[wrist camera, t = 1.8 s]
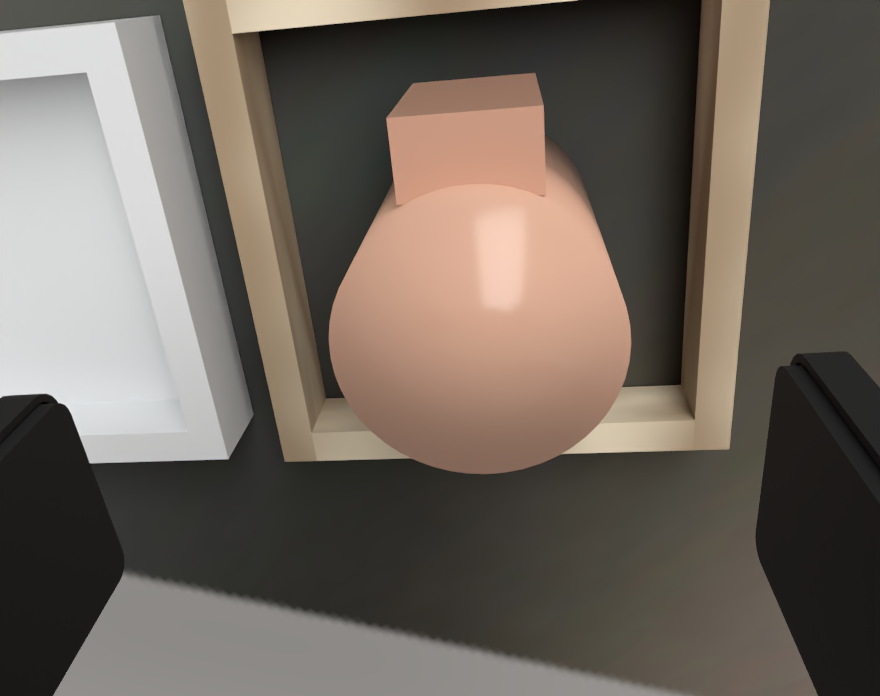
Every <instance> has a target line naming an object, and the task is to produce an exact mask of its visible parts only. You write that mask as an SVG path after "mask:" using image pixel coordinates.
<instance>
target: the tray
mask: <svg viewBox="0 0 880 696" xmlns="http://www.w3.org/2000/svg"><path fill="white" fill-rule="evenodd" d="M28 394H49V395H51V396H53V397H54V398H55V399H56V400H57V402H58V403H61V404H64V405H65V406H66V407H67V408H68V409H69V411H70V413H71V415H72V417H73V420H74V423H75V425H76V428H77V431H78V433H79V436H80V439H81V441H82V444H83V447H84V449H85V452H86V455H87V457H88V460H89V463H118V462H152V461H185V460H219V459H229V457H230V456H231V454H232V452H233V450H234V449H235V447H236V445H237V443H238V441H239V440H240V438H241V436H242V434H243V433H244V431H245V429H246V427H247V426H248V424H249V422H250V420H251V419H252V417H253V415H254V414H253V410H252V405H251V401H250V397H249V393H248V388H247V384H246V380H245V376H244V371H243V367H242V363H241V359H240V354H239V350H238V346H237V342H236V337H235V333H234V329H233V325H232V320H231V316H230V312H229V308H228V303H227V299H226V295H225V291H224V286H223V282H222V278H221V274H220V269H219V265H218V261H217V257H216V252H215V248H214V244H213V240H212V235H211V231H210V227H209V223H208V218H207V214H206V210H205V206H204V201H203V197H202V193H201V189H200V184H199V180H198V176H197V172H196V167H195V163H194V159H193V155H192V150H191V146H190V142H189V138H188V133H187V129H186V125H185V121H184V116H183V112H182V108H181V104H180V99H179V95H178V91H177V87H176V82H175V78H174V74H173V70H172V65H171V61H170V57H169V53H168V48H167V44H166V40H165V36H164V31H163V27H162V23H161V19H160V15H157V16H147V17H137V18H127V19H117V20H107V21H97V22H87V23H77V24H67V25H57V26H47V27H38V28H28V29H18V30H8V31H0V398H1V397H3V396H9V395H28Z"/></svg>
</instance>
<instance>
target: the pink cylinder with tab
mask: <svg viewBox="0 0 880 696" xmlns="http://www.w3.org/2000/svg"><path fill="white" fill-rule="evenodd" d="M386 120H387V128H388V136H389V145H390V153H391V162H392V170H393V179H394V181H393V183H392V185H391V187H390V189H389V191H388V193H387V195H386V197H385V199H384V201H383V203H382V205H381V207H380V209H379V211H378V213H377V215H376V217H375V219H374V220H373V222H372V224H371V226H370V228H369V230H368V232H367V234H366V236H365V238H364V240H363V242H362V244H361V246H360V248H359V250H358V252H357V254H356V256H355V258H354V260H353V261H352V263H351V265H350V267H349V269H348V271H347V273H346V275H345V277H344V279H343V281H342V283H341V285H340V287H339V289H338V292H337V295H336V298H335V300H334V303H333V307H332V312H331V317H330V323H329V348H330V358H331V362H332V366H333V370H334V374H335V377H336V379H337V382H338V384H339V387H340V389H341V391H342V393H343V395H344V397H345V398H346V400H347V402H348V404H349V406H350V407H351V408H352V410H353V411H354V412H355V414H356V415H357V416H358V418H359V419H360V420H361V421H362V422H363V423H364V424H365V425H366V426H367V427H368V428H369V430H370V431H371V432H372V433H374V434H375V435H376V436H377V437H379V438H380V439H381V440H382V441H383V442H385V443H386V444H387V445H389V446H391V447H392V448H394V449H395V450H397V451H398V452H400V453H402V454H404V455H406V456H408V457H410V458H412V459H414V460H416V461H419V462H421V463H424V464H427V465H430V466H432V467H436V468H440V469H444V470H448V471H453V472H461V473H468V474H494V473H506V472H511V471H516V470H521V469H525V468H528V467H531V466H535V465H538V464H541V463H543V462H545V461H548V460H550V459H552V458H554V457H557V456H558V455H560V454H562V453H563V452H565V451H567V450H569V449H570V448H572V447H573V446H575V445H576V444H577V443H579V442H580V441H581V440H582V439H584V438H585V437H586V436H587V435H588V434H589V433H590V432H591V431H592V430H593V429H594V428H595V427H596V426H597V425H598V424H599V423H600V422H601V421H602V419H603V418H604V417H605V416H606V414H607V413H608V412H609V410H610V409H611V407H612V405H613V404H614V402H615V400H616V398H617V397H618V395H619V393H620V390H621V388H622V385H623V383H624V380H625V377H626V373H627V369H628V365H629V361H630V351H631V331H630V322H629V317H628V312H627V308H626V305H625V302H624V299H623V296H622V293H621V290H620V287H619V285H618V282H617V279H616V276H615V273H614V270H613V267H612V264H611V261H610V259H609V256H608V253H607V250H606V247H605V244H604V241H603V238H602V236H601V233H600V230H599V227H598V224H597V221H596V218H595V215H594V212H593V210H592V207H591V204H590V201H589V198H588V195H587V192H586V189H585V187H584V184H583V181H582V178H581V176H580V174H579V172H578V170H577V168H576V166H575V165H574V163H573V162H572V160H571V159H570V158H569V156H568V155H567V154H566V153H565V151H564V150H563V149H562V148H561V147H560V146H559V145H558V144H557V143H555V142H554V141H553V140H552V139H550V138H549V137H548V136H547V135H545V134H544V105H543V101H542V97H541V93H540V89H539V86H538V82H537V78H536V74H535V73H527V74H516V75H504V76H492V77H480V78H469V79H457V80H445V81H433V82H422V83H413V84H412V85H411V86H410V88H409V89H408V90H407V92H406V93H405V94H404V96H403V97H402V98H401V100H400V101H399V102H398V103H397V105H396V106H395V107H394V109H393V110H392V111H391V113H390V114H389V115H388V117H387V118H386Z"/></svg>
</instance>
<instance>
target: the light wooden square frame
mask: <svg viewBox="0 0 880 696" xmlns="http://www.w3.org/2000/svg"><path fill="white" fill-rule="evenodd" d="M566 1H576V0H183V3H184V8H185V12H186V17H187V21H188V26H189V30H190V35H191V39H192V44H193V49H194V53H195V58H196V62H197V67H198V71H199V76H200V80H201V85H202V89H203V94H204V98H205V103H206V107H207V112H208V116H209V121H210V125H211V130H212V134H213V139H214V143H215V148H216V153H217V157H218V162H219V166H220V171H221V175H222V180H223V184H224V189H225V193H226V198H227V202H228V207H229V211H230V216H231V220H232V225H233V229H234V234H235V238H236V243H237V247H238V252H239V257H240V261H241V266H242V270H243V275H244V279H245V284H246V288H247V293H248V297H249V302H250V306H251V311H252V315H253V320H254V324H255V329H256V333H257V338H258V342H259V347H260V351H261V356H262V361H263V365H264V370H265V374H266V379H267V383H268V388H269V392H270V397H271V401H272V406H273V410H274V415H275V419H276V424H277V428H278V433H279V437H280V442H281V446H282V451H283V455H284V460H285V462H299V461H333V460H368V459H403V458H410V457H408V456H406V455H404V454H402V453H400V452H398V451H397V450H395V449H394V448H392V447H391V446H389V445H387V444H386V443H385V442H383V441H382V440H381V439H380V438H379V437H377V436H376V435H375V434H374V433H372V432H371V431H370V430H369V428H368V427H367V426H366V425H365V424H364V423H363V422H362V421H361V420H360V419H359V418H358V416H357V415H356V414H355V412H354V411H353V410H352V408H351V407H350V406H349V404H348V402H347V400H346V398H329V399H326V395H325V390H324V385H323V379H322V374H321V368H320V363H319V357H318V352H317V346H316V341H315V336H314V330H313V325H312V319H311V314H310V308H309V303H308V298H307V292H306V287H305V281H304V276H303V270H302V265H301V260H300V254H299V249H298V243H297V238H296V232H295V227H294V221H293V216H292V211H291V205H290V200H289V194H288V189H287V183H286V178H285V173H284V167H283V162H282V156H281V151H280V145H279V140H278V135H277V129H276V124H275V118H274V113H273V107H272V102H271V96H270V91H269V86H268V80H267V75H266V69H265V64H264V58H263V53H262V48H261V42H260V37H259V31H266V30H276V29H287V28H297V27H307V26H318V25H328V24H338V23H349V22H359V21H369V20H380V19H390V18H400V17H411V16H421V15H431V14H442V13H452V12H462V11H473V10H483V9H493V8H504V7H514V6H524V5H535V4H545V3H555V2H566ZM769 5H770V0H702V3H701V21H700V40H699V58H698V77H697V95H696V113H695V132H694V150H693V169H692V187H691V205H690V224H689V242H688V261H687V279H686V297H685V316H684V334H683V353H682V371H681V385H666V386H640V387H622V388H621V390H620V393H619V395H618V397H617V398H616V400H615V402H614V404H613V405H612V407H611V409H610V410H609V412H608V413H607V414H606V416H605V417H604V418H603V419H602V421H601V422H600V423H599V424H598V425H597V426H596V427H595V428H594V429H593V430H592V431H591V432H590V433H589V434H588V435H587V436H586V437H585V438H584V439H582V440H581V441H580V442H579V443H577V444H576V445H575V446H573V447H572V448H570V449H569V450H567V451H565V452H563V453H562V454H576V453H611V452H646V451H681V450H715V449H729V446H730V435H731V424H732V413H733V402H734V391H735V380H736V369H737V358H738V347H739V336H740V325H741V314H742V303H743V292H744V281H745V270H746V259H747V248H748V237H749V226H750V215H751V203H752V192H753V181H754V170H755V159H756V148H757V137H758V126H759V115H760V104H761V93H762V82H763V71H764V60H765V49H766V38H767V27H768V16H769Z"/></svg>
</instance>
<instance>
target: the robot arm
mask: <svg viewBox="0 0 880 696" xmlns="http://www.w3.org/2000/svg"><path fill="white" fill-rule="evenodd" d="M756 546H757V552H758V557H759V560H760V563H761V565H762V567H763V570H764V572H765V574H766V576H767V579H768V581H769V583H770V586H771V588H772V590H773V593H774V595H775V597H776V600H777V602H778V604H779V606H780V609H781V611H782V613H783V616H784V618H785V620H786V623H787V625H788V627H789V629H790V632H791V634H792V636H793V639H794V641H795V643H796V646H797V648H798V650H799V652H800V655H801V657H802V659H803V662H804V664H805V666H806V669H807V671H808V673H809V676H810V678H811V680H812V682H813V685H814V687H815V689H816V692H817V694H818V696H880V388H879V387H878V386H877V384H876V383H875V382H874V381H873V380H872V379H871V377H870V376H869V375H868V374H867V373H866V372H865V371H864V369H863V368H862V367H861V366H860V365H859V364H858V363H857V361H856V360H855V359H854V358H853V357H852V356H851V355H850V354H849V353H847V352H824V353H805V354H796V355H795V356H794V357H793V359H792V361H791V364H790V366H780V367H779V368H778V370H777V372H776V377H775V383H774V391H773V399H772V407H771V415H770V423H769V431H768V439H767V447H766V455H765V463H764V471H763V479H762V487H761V495H760V503H759V511H758V519H757V527H756ZM123 570H124V554H123V550H122V548H121V545H120V542H119V540H118V537H117V534H116V532H115V529H114V526H113V524H112V521H111V518H110V516H109V513H108V510H107V508H106V505H105V502H104V500H103V497H102V495H101V492H100V489H99V487H98V484H97V481H96V479H95V476H94V473H93V471H92V468H91V465H90V463H89V460H88V457H87V455H86V452H85V449H84V447H83V444H82V441H81V439H80V436H79V433H78V431H77V428H76V425H75V423H74V420H73V417H72V415H71V413H70V411H69V409H68V408H67V407H66V406H65V405H64V404H61V403H58V402H57V400H56V399H55V398H54V397H53V396H51V395H49V394H28V395H9V396H3V397H1V398H0V696H53V694H54V693H55V691H56V689H57V687H58V686H59V684H60V682H61V681H62V679H63V677H64V676H65V674H66V672H67V670H68V669H69V667H70V665H71V664H72V662H73V660H74V658H75V657H76V655H77V653H78V651H79V650H80V648H81V646H82V645H83V643H84V641H85V639H86V638H87V636H88V634H89V633H90V631H91V629H92V627H93V626H94V624H95V622H96V621H97V619H98V617H99V615H100V614H101V612H102V610H103V609H104V607H105V605H106V603H107V602H108V600H109V598H110V597H111V595H112V593H113V591H114V590H115V588H116V586H117V584H118V583H119V581H120V579H121V577H122V574H123Z"/></svg>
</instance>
